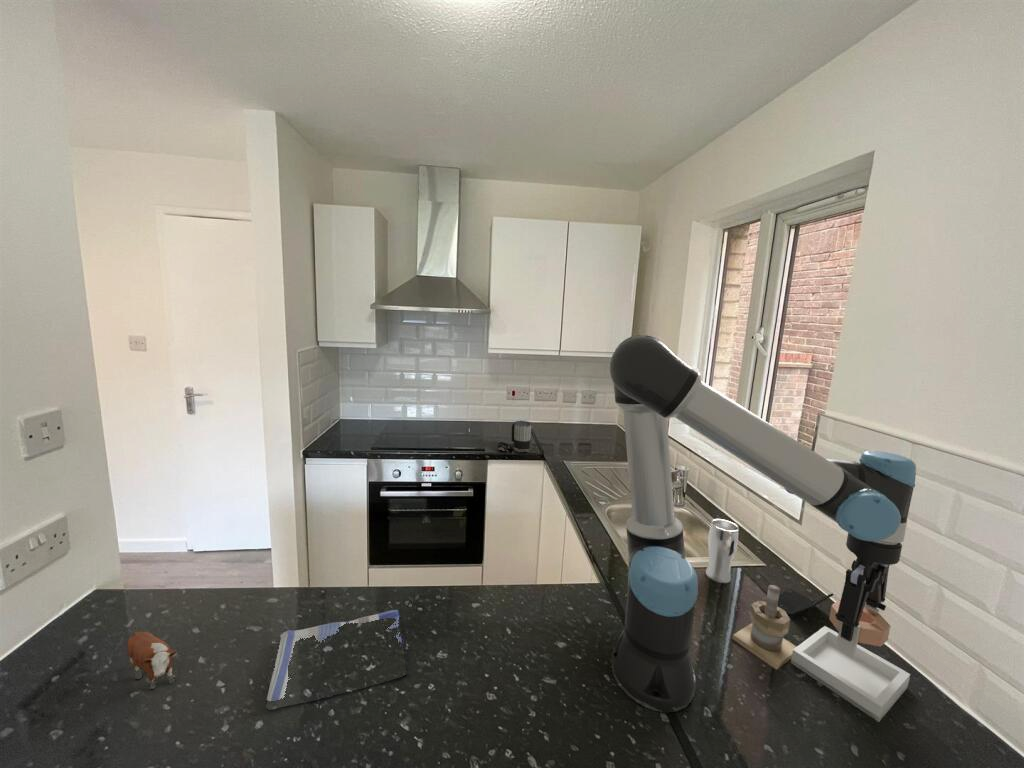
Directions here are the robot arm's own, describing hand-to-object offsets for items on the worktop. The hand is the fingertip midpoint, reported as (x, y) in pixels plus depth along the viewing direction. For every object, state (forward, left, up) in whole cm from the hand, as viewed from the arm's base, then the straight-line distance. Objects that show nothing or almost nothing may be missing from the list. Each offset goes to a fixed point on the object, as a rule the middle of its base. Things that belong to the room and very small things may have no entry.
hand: (854, 643), depth 79 cm
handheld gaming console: (+13, +15, -7) cm, 21 cm away
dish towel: (-86, +51, -8) cm, 100 cm away
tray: (0, 0, -7) cm, 7 cm away
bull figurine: (-115, +61, -7) cm, 130 cm away
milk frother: (+11, +147, -7) cm, 147 cm away
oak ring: (-7, +12, -2) cm, 14 cm away
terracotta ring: (0, 0, +3) cm, 3 cm away
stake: (-7, +12, -7) cm, 16 cm away
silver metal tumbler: (+7, +32, -7) cm, 33 cm away
